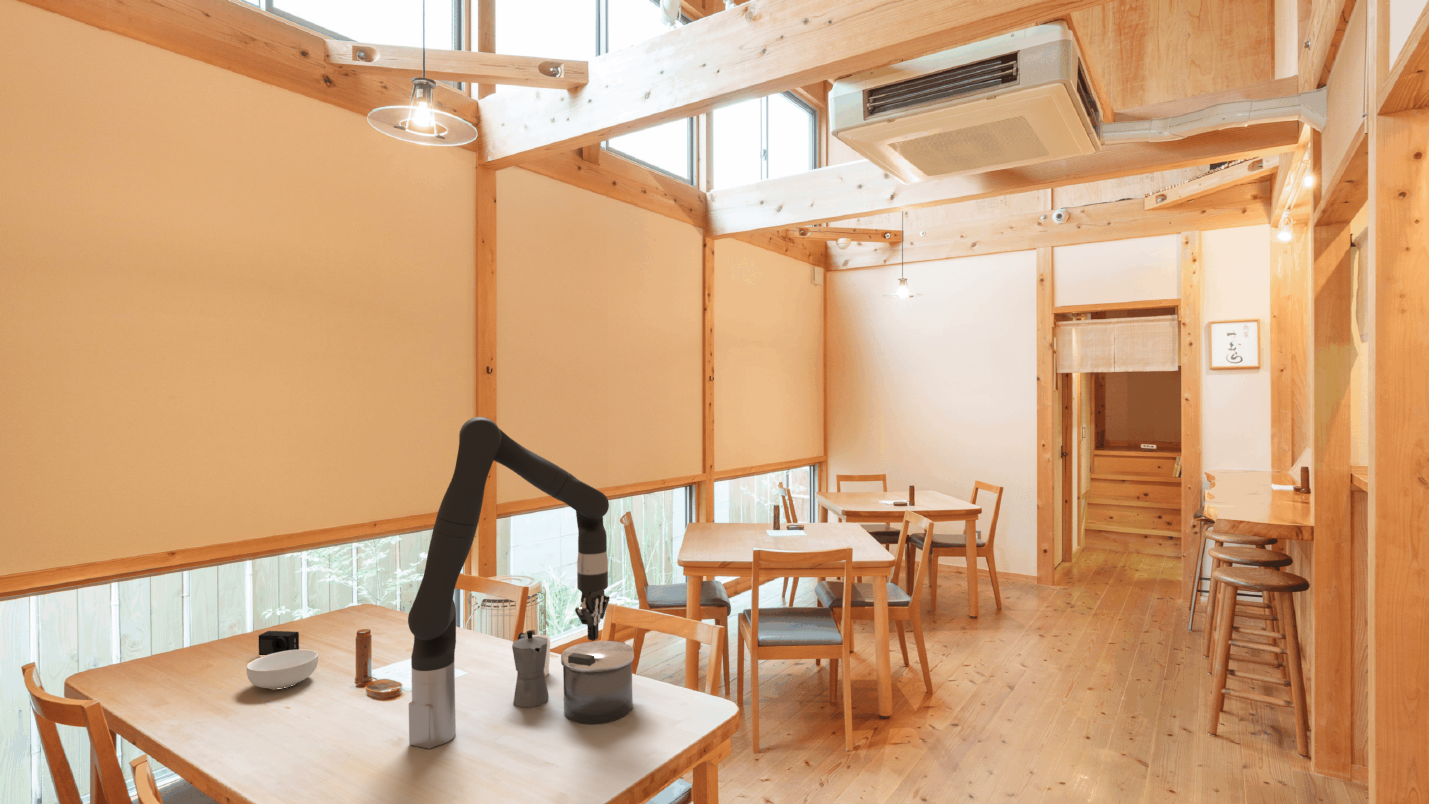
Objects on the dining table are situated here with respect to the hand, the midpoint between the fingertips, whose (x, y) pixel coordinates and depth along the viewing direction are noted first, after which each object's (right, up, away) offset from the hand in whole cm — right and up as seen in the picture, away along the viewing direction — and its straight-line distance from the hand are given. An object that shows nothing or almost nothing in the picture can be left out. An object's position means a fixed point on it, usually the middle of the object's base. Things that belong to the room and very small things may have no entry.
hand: (593, 639), depth 171 cm
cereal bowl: (-90, -20, +20) cm, 94 cm away
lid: (+1, -6, +2) cm, 6 cm away
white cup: (-20, -19, +24) cm, 37 cm away
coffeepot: (-18, -19, +8) cm, 27 cm away
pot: (+1, -18, +2) cm, 18 cm away
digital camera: (-105, -20, +42) cm, 115 cm away
